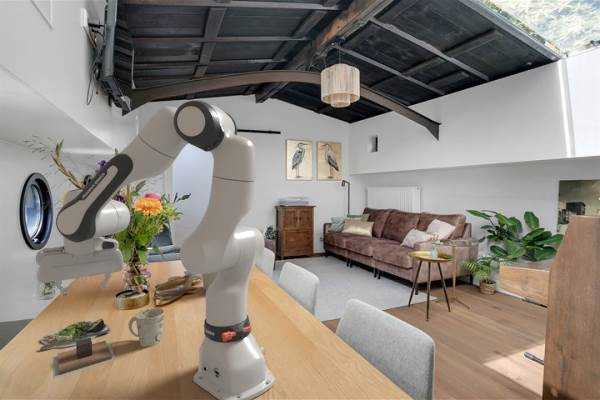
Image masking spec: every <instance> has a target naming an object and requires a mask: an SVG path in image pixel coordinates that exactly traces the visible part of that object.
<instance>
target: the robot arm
mask: <svg viewBox="0 0 600 400" xmlns="http://www.w3.org/2000/svg"><path fill="white" fill-rule="evenodd" d="M188 144H189V145H191V146H192V147H196V148H198V149H199V150H202V151H204V152H206V153H208V152H210V153H211V155H212V158H213V169H212V176H211V186H210V192H209V199H208V203H207V208H206V210H205V212H204V215H203V217H202V218H201V220H200V221H199V224H198V226H196V228H195V229H194V230H193V231H192V233H190V234H189V235H188V236H187V237H186V238H185V239H184V240H183V242H182V243H181V246H180V251H179V259H180V261H181V264H182V266H183V268H184V270H186V271H187V272H188V273H190V274H192V275H202V274H211V273H215V272H218V271H219V272H218V275H217V277H216V279H215V280H214V281H213V283H212V284H211V285H210V286H209V287H208V289H207V291H206V290H205V291H206V292H205V318H204V322H203V323H204V324H203V330H204V333H203V334H204V338H203V340H202V342H201V344H200V346H199V353H198V354H199V355H198V369H197V372H196V373H195V374H194V375H193V382H194V383H195V384H196V385H198V386H199V387H201V388H202V389H203V390H205V391H206V392H208V393H209V394H211V395H212V396H213V397H215V398H216V399H218V400H252V399H254V398H257V397H259V396H261V395H262V394H264V393H265V392H267V391H268V390H270V389H271V388H272V387H273V386H274V384H275V383H276V377H275V376H274V374H273V372H272V371H271V369H269V367H268V366H267V365H266V361H265V355H266V350H265V348H264V346H260V347H259V345H258V343H257V338H256V337H254V336H253V334H252V327H253V326H252V325H251V320H250V317H249V315H248V290H249V284H250V280H251V276H252V273H253V269H254V267H255V266H256V263H257V261H258V259H259V258H260V257H261V255H262V254H263V252H264V250H265V238H264V235H263V233H262V232H261V231H260V230H259V228H257V227H255V226H253V227H252V226H248V225H247V226H245V225H239V224H240V222H241V221H242V220H243V218H245V216H247V214H249V212H250V211H251V209H252V205H253V199H254V192H255V191H254V189H255V180H256V171H257V170H256V169H257V162H256V160H257V159H256V158H257V157H256V148H255V144H254V143H253V142H252V141H251V140H250V139H248V138H247V137H245V136H241V135H238V126H237V124H236V121H235V119H234V118H233V117H232V116H231V115H230V114H229V113H227V112H226V111H224V110H222V109H221V108H220V107H218V106H216V105H213V104H211V103H208V102H206V101H202V100H189V101H186V102H184V103H182V104H180V106H179V107H175V106H172V105H171V106H170V105H165V106H162V107H160V108H159V109H158V110H157V111H155V112H154V114H152V116H151V117H150V118H149V119H148V120H147V121H146V122H145V123H144V124H143V126H142V127H141V128H140V130H139V131H138V133H137V134H136V135H135V137H134V138H133V139H132V141H131V142H130V143H129V144H127V145H126V147H125V148H124V149H122V151H120V152H119V153H117V154H116V155H115V156H113V157H112V158H110V160H108V161H107V162H106V163H105V164H104V165H103V166H102V167H101V168H100V170H99V171H98V172H97V173H96V174H95V175H94V176H93V177H92V179H91V180H90V181H89V182H88V183H87V184H86V186H85V187H84V188H78V189H73V190H68V191H67V192H66V193H65V195H64V198H63V201H62V202H63V203H62V207H61V208H60V210H59V211H58V213H57V215H56V219H55V227H56V229H57V231H58V232H59V233H60V235H61V236H62V237H63V246H56V247H46V248H42V249H41V250H39V251H37V253H36V255H35V262H36V264H37V265H38V266H39V267H38V277H37V278H38V279H37V280H38V282H40V283H42V284H47V283H53V282H54V284H55V286H56V288H57V289H58V290H59V291H60V297H63V296H67V295H68V287H63V286H62V282H63V281H66V280H72V279H80V278H85V277H93V276H100V275H104V277H105V278H104V279H103V281H100V282H99V288H100V290H102V289H104V290H105V289H107V283H108V282H109V280H110V278H111V275H112V273H113V274H114V273H117V272H118V273H119V272H122V271H123V270H124V267H125V264H124V257H123V253H122V251H121V249H119V246H120V245H119V241H118V240H117V239H114V238H111V237H110V238H109V237H106V236H109V235H114V234H119V233H121V232H123V231H125V230H127V229H128V228H129V225H130V224H131V219H132V215H131V210H130V209H129V207H128V206H127V205H126V204H125V202H123V201H119V200H115V199H113V197H115V196H116V194H118V192H119V191H120V190H122V189H123V188H125V187H126V186H127V185H128V186H129V185H130V184H132V183H135V182H138V181H142V180H145V179H150V178H153V177H157V176H160V175H163V173H165V171H167V170H168V169H169V168H170V167H171V166H172V165H173V164H174V162H175V160H177V157H179V155H180V153H181V152H182V150H183V149H184V148H185V147H186V146H187V145H188Z"/></svg>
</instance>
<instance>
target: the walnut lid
mask: <svg viewBox="0 0 600 400" xmlns="http://www.w3.org/2000/svg"><path fill="white" fill-rule="evenodd" d="M57 355H58V367H59V375H62V374H65V373H68V372H71V371H75V370H78V369H81V368H84V367H88V366H91V365H94V364H97V363H101V362H104V361H107V360H110V359H112V356H111V353H110V351H109V348H108V346H107V343H106V340H102V341H99V342H95V343H93V340H92V339H91V337H90V338H86V339H83V340H79V341H76V346H75V348H73V349H71V350H70V349H69V350H66V351H62V352H60V353H57Z"/></svg>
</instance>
